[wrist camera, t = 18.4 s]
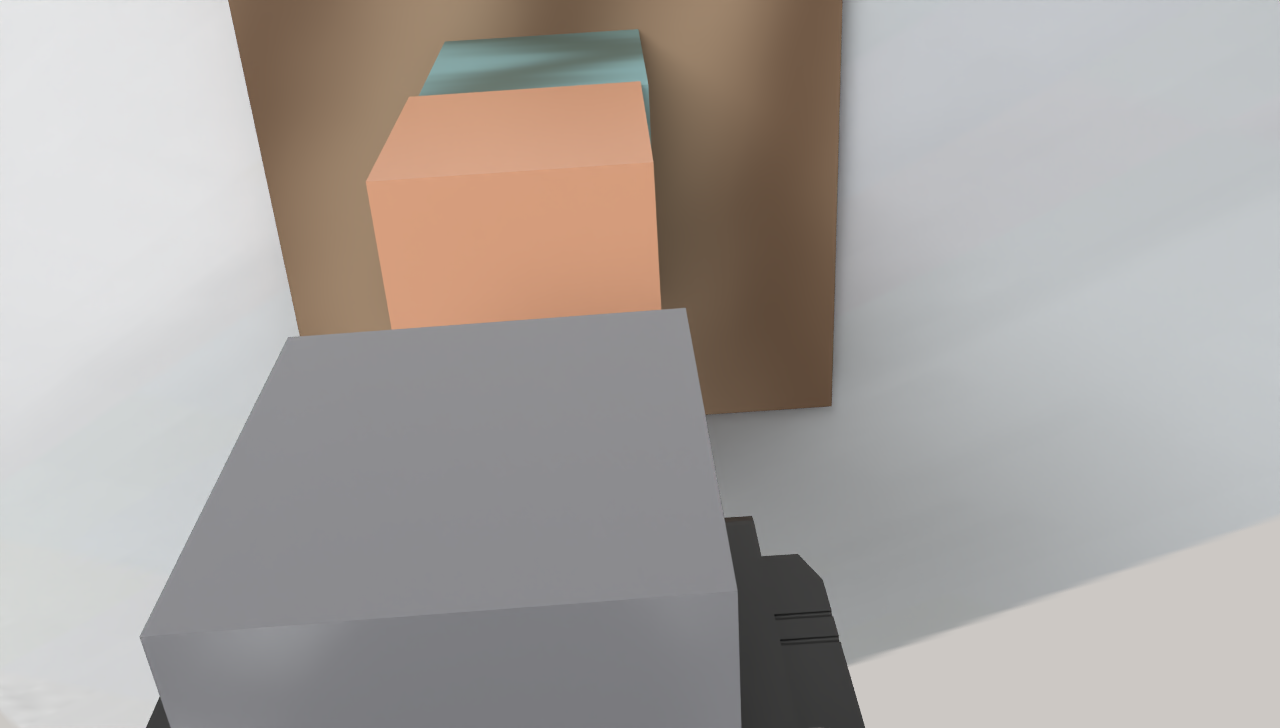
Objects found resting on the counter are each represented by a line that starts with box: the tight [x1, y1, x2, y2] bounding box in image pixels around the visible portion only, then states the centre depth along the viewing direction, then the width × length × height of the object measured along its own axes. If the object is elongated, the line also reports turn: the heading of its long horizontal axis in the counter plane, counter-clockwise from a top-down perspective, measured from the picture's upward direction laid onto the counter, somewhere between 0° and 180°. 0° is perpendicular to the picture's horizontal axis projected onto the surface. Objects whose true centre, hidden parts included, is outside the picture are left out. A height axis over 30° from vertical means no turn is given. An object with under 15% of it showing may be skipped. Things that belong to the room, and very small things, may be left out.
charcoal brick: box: [140, 308, 741, 728], centre depth 13 cm, size 4×7×5 cm, turn 4°
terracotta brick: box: [366, 81, 661, 330], centre depth 22 cm, size 4×7×5 cm, turn 3°
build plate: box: [228, 0, 842, 415], centre depth 27 cm, size 14×14×6 cm
